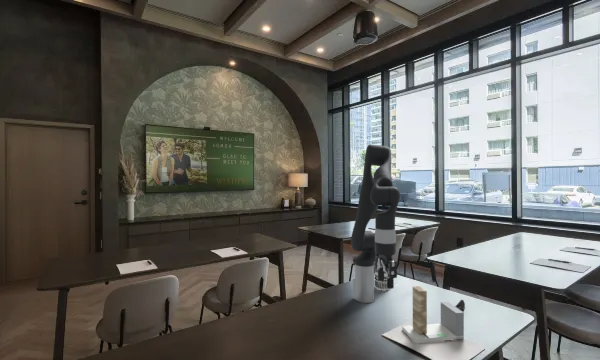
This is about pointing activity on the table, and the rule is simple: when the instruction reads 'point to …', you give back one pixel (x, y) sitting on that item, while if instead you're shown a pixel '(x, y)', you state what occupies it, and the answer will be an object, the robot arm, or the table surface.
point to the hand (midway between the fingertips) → (385, 284)
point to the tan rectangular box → (420, 310)
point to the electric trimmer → (460, 305)
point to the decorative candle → (380, 284)
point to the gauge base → (441, 326)
